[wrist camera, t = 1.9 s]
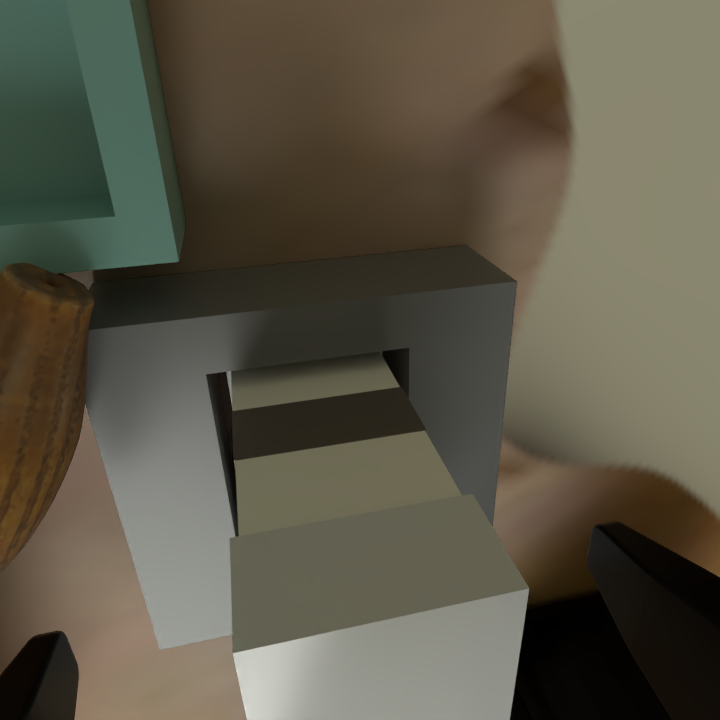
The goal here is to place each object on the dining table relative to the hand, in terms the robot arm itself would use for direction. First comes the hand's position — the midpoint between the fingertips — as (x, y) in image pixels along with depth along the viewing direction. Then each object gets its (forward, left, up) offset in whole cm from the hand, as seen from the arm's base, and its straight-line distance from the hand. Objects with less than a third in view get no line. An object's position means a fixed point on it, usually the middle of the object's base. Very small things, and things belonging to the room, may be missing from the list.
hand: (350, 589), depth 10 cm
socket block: (0, 0, -5) cm, 5 cm away
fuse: (0, 0, -5) cm, 5 cm away
